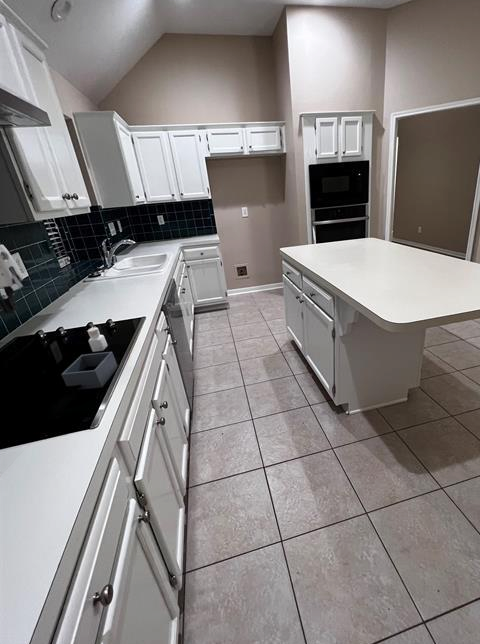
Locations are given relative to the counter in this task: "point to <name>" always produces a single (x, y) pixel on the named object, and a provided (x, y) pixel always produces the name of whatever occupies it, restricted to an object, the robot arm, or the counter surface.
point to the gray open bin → (93, 377)
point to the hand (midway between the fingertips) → (11, 311)
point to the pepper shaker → (96, 340)
